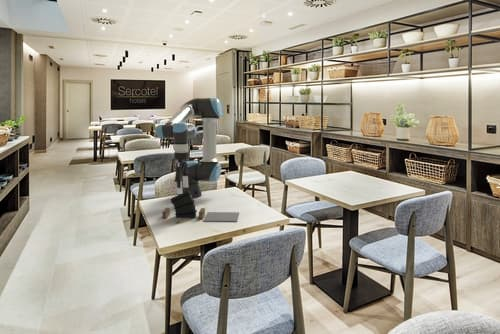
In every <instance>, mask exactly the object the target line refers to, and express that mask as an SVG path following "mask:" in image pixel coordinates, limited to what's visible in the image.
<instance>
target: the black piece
mask: <svg viewBox="0 0 500 334" xmlns="http://www.w3.org/2000/svg"><path fill="white" fill-rule="evenodd" d="M195 201H196V200H195V199H194V198H192V195H191V192H190V191H189V190H188V191H186V192H184V193H182V194H177V195H175V196H174V197H172V198H171V199H170V202H171V203H172V205H173V206H174V207H173V210H175V213H174V216H175V218H181V219H182V218H183V219H184V218H185V219H186V218H187V219H195V218H196V217H197V212H198V211H197V209H196V204H195Z"/></svg>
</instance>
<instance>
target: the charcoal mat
mask: <svg viewBox="0 0 500 334" xmlns="http://www.w3.org/2000/svg"><path fill="white" fill-rule="evenodd" d="M239 217H240V212H238V211H237V212H235V211H233V212H232V211H231V212H230V211H228V212H227V211H224V212H223V211H207V213H206V214H205V216H204V218H203V219H202V220H203V221H202V222H205V223H207V222H208V223H212V222H215V223H216V222H217V223H218V222H219V223H221V222H222V223H237V222H238V220H239Z"/></svg>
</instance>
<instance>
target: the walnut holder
mask: <svg viewBox="0 0 500 334" xmlns="http://www.w3.org/2000/svg"><path fill="white" fill-rule="evenodd" d="M170 211H171V210H170V207H165V208H164V209H163V210H162V212H161V213H162V220H167V219H168V217H169V216H170V214H171V213H170ZM205 216H206V208H204V207H202V208H200V209H199V211H198V219H199V220H204V218H205Z"/></svg>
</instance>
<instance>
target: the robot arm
mask: <svg viewBox="0 0 500 334" xmlns="http://www.w3.org/2000/svg"><path fill="white" fill-rule="evenodd" d="M222 116H223V106H222V103H221V101H220V99H219V98H214V97H213V98H212V97H210V98H209V97H207V98H206V97H205V98H204V97H198V98H192V99H191V100H188V101H187V102H185V103H183V104H182V105H181V106H180V108H179V110H178V111H177V112H176V113H175V114H174V115H172V117H171V118H170V119H169V120H167V121H166V122H165V124H164V123H163V124H158V125H156V128H155V135H156V137H157V138H159V139H173V145H172V148H173V157H174V158H173V159H174V160H175V161H177V162H176V163H175V176H174V177H175V178H174V182H175V183H176V194H177V195H179V194H182V193H184V192H186V191H188V190H189V191H190V192H191V195H192V198H193V199H196V198H200V197H201V196H202V195H203V191H202V189H201V186H200V183H199V182H210V183H212V182H218V180H219V178H220V176H221V175H222V174H221V173H222V166H221V164H220V163H219V160H218V159H217V128H218V127H217V122H219V120H220V117H222ZM193 117H200V120H202V121H203V125H202V126H203V127H202V132H203V133H202V134H203V135H202V139H203V140H202V159H200V160H199V161H200V163H199V161H198V160H190V161H189V160H188V159H189V157H190V155H189V139H190V140H191V139H193V138H195V137H196V136H197V133H198V130H197V127H196V126H195V125H193V124H187V123H188V122H187V121H188V120H189V119H192V118H193Z"/></svg>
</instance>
